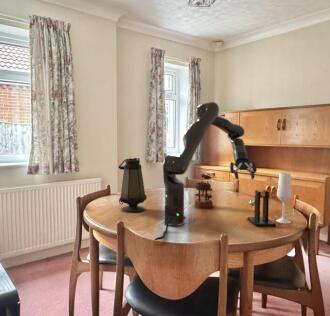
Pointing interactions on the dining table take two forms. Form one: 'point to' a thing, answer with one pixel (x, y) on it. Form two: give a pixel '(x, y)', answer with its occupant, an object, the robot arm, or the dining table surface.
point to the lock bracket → (263, 220)
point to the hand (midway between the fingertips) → (245, 178)
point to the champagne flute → (284, 193)
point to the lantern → (132, 186)
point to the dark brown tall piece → (203, 187)
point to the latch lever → (262, 195)
